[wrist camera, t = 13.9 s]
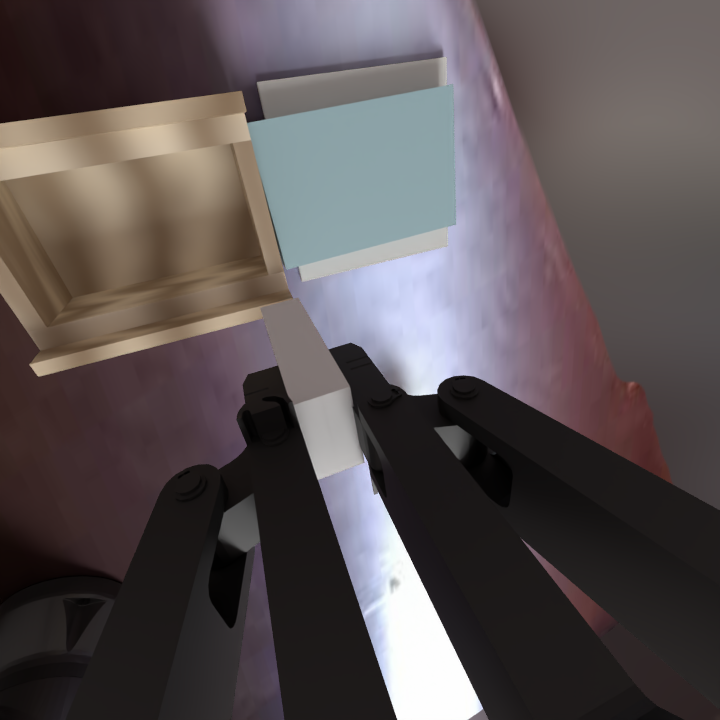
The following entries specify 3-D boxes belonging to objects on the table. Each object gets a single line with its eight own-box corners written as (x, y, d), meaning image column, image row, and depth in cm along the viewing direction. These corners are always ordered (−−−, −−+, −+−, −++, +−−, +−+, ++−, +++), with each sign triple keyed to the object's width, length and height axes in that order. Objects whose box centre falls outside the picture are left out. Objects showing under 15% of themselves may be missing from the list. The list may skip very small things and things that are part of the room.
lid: (282, 262, 36) (286, 269, 34) (243, 124, 30) (245, 123, 28) (443, 220, 39) (456, 224, 37) (438, 87, 33) (453, 84, 31)
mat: (301, 280, 38) (302, 281, 37) (256, 82, 29) (257, 82, 29) (444, 244, 41) (447, 246, 41) (442, 58, 32) (446, 56, 32)
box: (76, 323, 33) (38, 376, 26) (-35, 140, 26) (-133, 141, 18) (278, 275, 37) (295, 309, 29) (234, 102, 29) (241, 90, 22)
